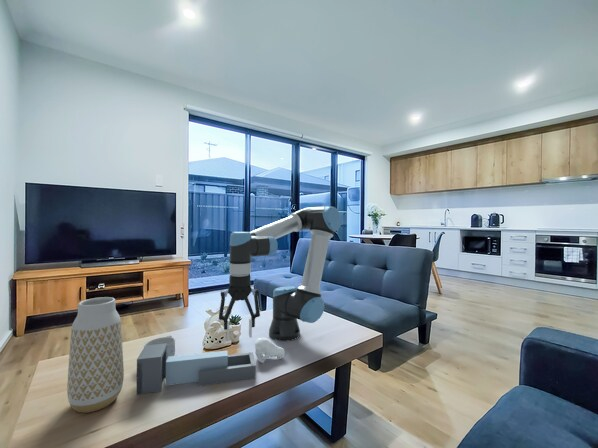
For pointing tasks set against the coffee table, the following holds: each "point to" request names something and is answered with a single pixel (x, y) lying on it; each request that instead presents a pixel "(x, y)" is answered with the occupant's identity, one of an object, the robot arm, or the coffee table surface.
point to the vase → (95, 356)
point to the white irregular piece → (267, 349)
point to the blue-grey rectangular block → (193, 366)
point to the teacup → (163, 340)
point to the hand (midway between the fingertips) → (239, 336)
